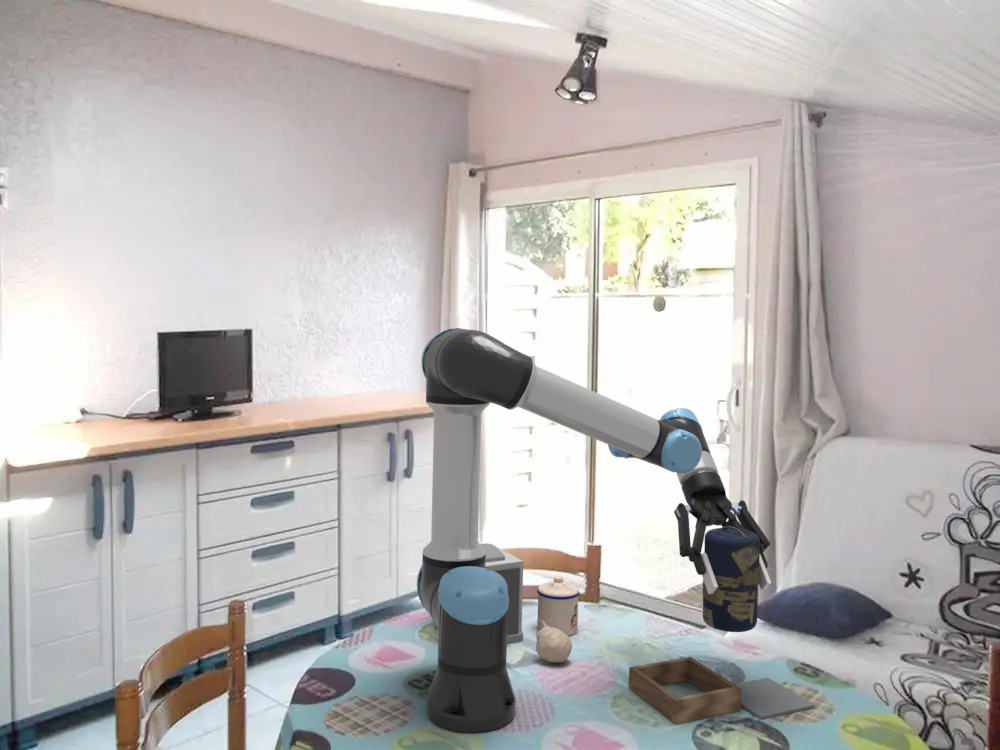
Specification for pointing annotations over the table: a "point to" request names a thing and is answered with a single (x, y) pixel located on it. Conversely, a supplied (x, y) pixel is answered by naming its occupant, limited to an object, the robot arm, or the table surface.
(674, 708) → the holder
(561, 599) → the teacup with lid
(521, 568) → the alarm clock
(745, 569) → the canister
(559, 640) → the garlic bulb
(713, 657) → the table surface
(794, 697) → the mat
